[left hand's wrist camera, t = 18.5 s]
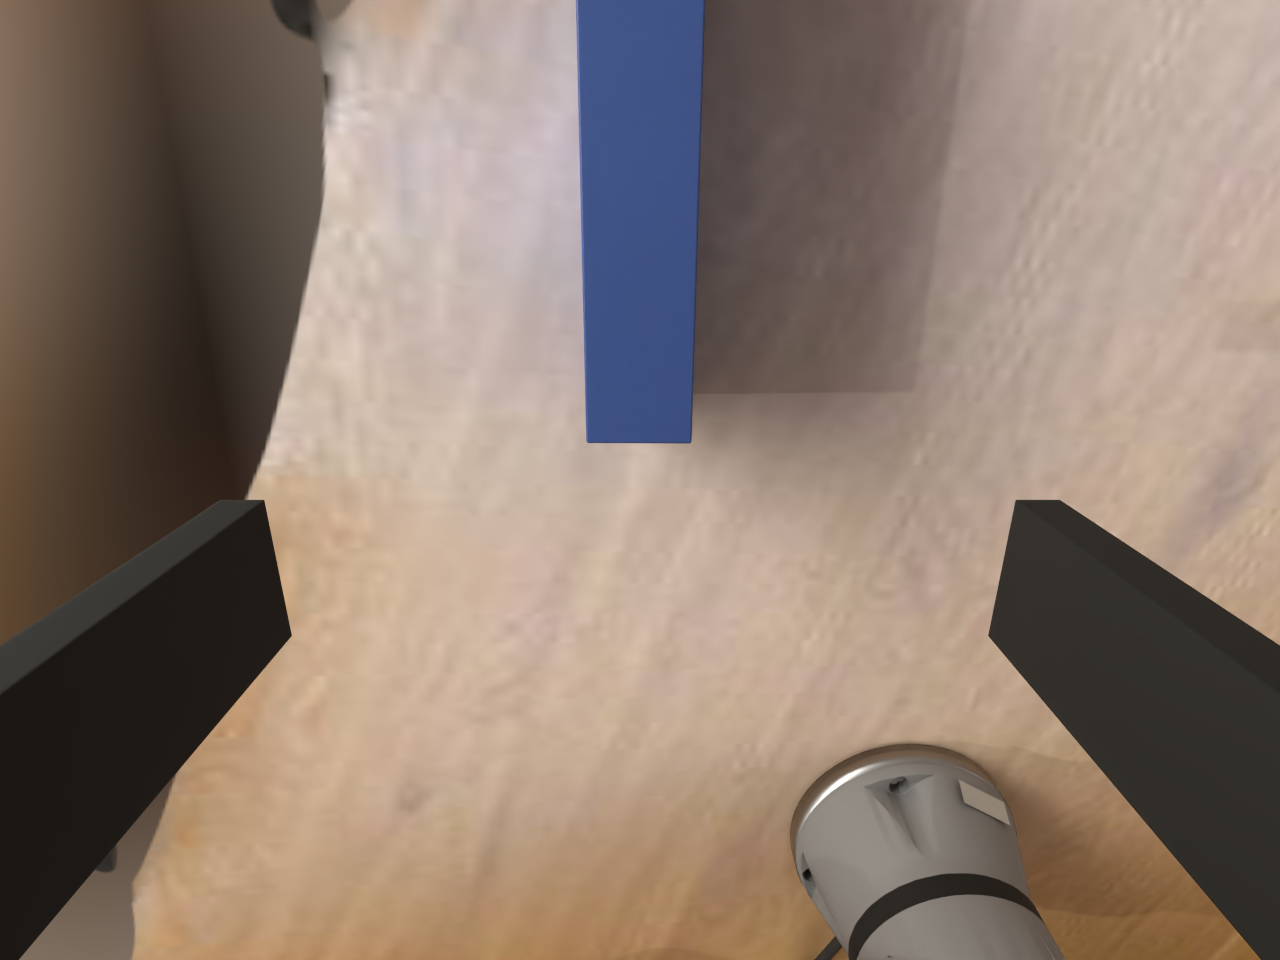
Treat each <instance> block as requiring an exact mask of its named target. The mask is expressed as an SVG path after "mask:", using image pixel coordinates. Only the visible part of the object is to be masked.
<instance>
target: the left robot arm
mask: <svg viewBox="0 0 1280 960" xmlns="http://www.w3.org/2000/svg"><path fill="white" fill-rule="evenodd" d="M291 636H292V635H291V630H290V625H289V620H288V615H287V610H286V605H285V600H284V595H283V591H282V586H281V581H280V576H279V571H278V566H277V561H276V556H275V551H274V546H273V541H272V536H271V531H270V527H269V522H268V517H267V512H266V507H265V502H264V500H220V501H218V502H217V503H215V504H214V505H212V506H211V507H209V508H207V509H206V510H204V511H203V512H202V513H200V514H198V515H197V516H195V517H194V518H192V519H191V520H189V521H188V522H186V523H185V524H183V525H182V526H180V527H179V528H177V529H176V530H174V531H173V532H171V533H170V534H168V535H167V536H165V537H164V538H162V539H161V540H159V541H158V542H156V543H155V544H153V545H152V546H150V547H149V548H147V549H146V550H144V551H142V552H141V553H140V554H138V555H136V556H135V557H133V558H132V559H130V560H129V561H127V562H126V563H124V564H123V565H121V566H120V567H118V568H117V569H115V570H114V571H112V572H111V573H109V574H108V575H106V576H105V577H103V578H102V579H100V580H99V581H97V582H96V583H94V584H93V585H91V586H90V587H88V588H87V589H85V590H84V591H82V592H80V593H79V594H77V595H76V596H74V597H73V598H71V599H70V600H68V601H67V602H65V603H64V604H62V605H61V606H59V607H58V608H56V609H55V610H53V611H52V612H50V613H49V614H47V615H46V616H44V617H43V618H41V619H40V620H38V621H37V622H35V623H34V624H32V625H31V626H29V627H28V628H26V629H25V630H23V631H22V632H20V633H19V634H17V635H15V636H14V637H12V638H11V639H9V640H8V641H6V642H5V643H3V644H2V645H0V960H19V959H20V958H21V956H22V955H23V954H24V953H25V952H26V950H27V949H28V948H29V947H30V946H31V945H32V943H33V942H34V941H35V940H36V939H37V937H38V936H39V935H40V934H41V933H42V931H43V930H44V929H45V928H46V927H47V926H48V924H49V923H50V922H51V921H52V920H53V918H54V917H55V916H56V915H57V914H58V912H59V911H60V910H61V909H62V908H63V907H64V905H65V904H66V903H67V902H68V901H69V899H70V898H71V897H72V896H73V895H74V894H75V892H76V891H77V890H78V889H79V888H80V886H81V885H82V884H83V883H84V882H85V880H86V879H87V878H88V877H89V876H90V875H91V873H92V872H93V871H94V870H95V869H96V867H97V866H98V865H99V864H100V863H101V861H102V860H103V859H104V858H105V857H106V856H107V854H108V853H109V852H110V851H111V850H112V848H113V847H114V846H115V845H116V844H117V842H118V841H119V840H120V839H121V838H122V837H123V835H124V834H125V833H126V832H127V831H128V829H129V828H130V827H131V826H132V825H133V823H134V822H135V821H136V820H137V819H138V818H139V816H140V815H141V814H142V813H143V812H144V810H145V809H146V808H147V807H148V806H149V805H150V803H151V802H152V801H153V800H154V799H155V797H156V796H157V795H158V794H159V793H160V791H161V790H162V789H163V788H164V787H165V785H166V784H167V783H168V782H169V781H170V780H171V778H172V777H173V776H174V775H175V774H176V772H177V771H178V770H179V769H180V768H181V767H182V765H183V764H184V763H185V762H186V761H187V759H188V758H189V757H190V756H191V755H192V753H193V752H194V751H195V750H196V749H197V748H198V746H199V745H200V744H201V743H202V742H203V740H204V739H205V738H206V737H207V736H208V735H209V733H210V732H211V731H212V730H213V729H214V727H215V726H216V725H217V724H218V723H219V721H220V720H221V719H222V718H223V717H224V716H225V714H226V713H227V712H228V711H229V710H230V708H231V707H232V706H233V705H234V704H235V702H236V701H237V700H238V699H239V698H240V697H241V695H242V694H243V693H244V692H245V691H246V689H247V688H248V687H249V686H250V685H251V683H252V682H253V681H254V680H255V679H256V678H257V676H258V675H259V674H260V673H261V672H262V670H263V669H264V668H265V667H266V666H267V664H268V663H269V662H270V661H271V660H272V659H273V657H274V656H275V655H276V654H277V653H278V651H279V650H280V649H281V648H282V647H283V645H284V644H285V643H286V642H287V641H288V640H289V638H290V637H291ZM988 636H989V637H990V638H991V640H992V641H993V642H994V643H995V644H996V646H997V647H998V648H999V649H1000V650H1001V651H1002V653H1003V654H1004V655H1005V656H1006V657H1007V659H1008V660H1009V661H1010V662H1011V663H1012V664H1013V666H1014V667H1015V668H1016V669H1017V670H1018V672H1019V673H1020V674H1021V675H1022V676H1023V678H1024V679H1025V680H1026V681H1027V682H1028V683H1029V685H1030V686H1031V687H1032V688H1033V689H1034V691H1035V692H1036V693H1037V694H1038V695H1039V697H1040V698H1041V699H1042V700H1043V701H1044V702H1045V704H1046V705H1047V706H1048V707H1049V708H1050V710H1051V711H1052V712H1053V713H1054V714H1055V716H1056V717H1057V718H1058V719H1059V720H1060V721H1061V723H1062V724H1063V725H1064V726H1065V727H1066V729H1067V730H1068V731H1069V732H1070V733H1071V735H1072V736H1073V737H1074V738H1075V739H1076V740H1077V742H1078V743H1079V744H1080V745H1081V746H1082V748H1083V749H1084V750H1085V751H1086V752H1087V753H1088V755H1089V756H1090V757H1091V758H1092V759H1093V761H1094V762H1095V763H1096V764H1097V765H1098V767H1099V768H1100V769H1101V770H1102V771H1103V772H1104V774H1105V775H1106V776H1107V777H1108V778H1109V780H1110V781H1111V782H1112V783H1113V784H1114V786H1115V787H1116V788H1117V789H1118V790H1119V791H1120V793H1121V794H1122V795H1123V796H1124V797H1125V799H1126V800H1127V801H1128V802H1129V803H1130V805H1131V806H1132V807H1133V808H1134V809H1135V810H1136V812H1137V813H1138V814H1139V815H1140V816H1141V818H1142V819H1143V820H1144V821H1145V822H1146V824H1147V825H1148V826H1149V827H1150V828H1151V829H1152V831H1153V832H1154V833H1155V834H1156V835H1157V837H1158V838H1159V839H1160V840H1161V841H1162V842H1163V844H1164V845H1165V846H1166V847H1167V848H1168V850H1169V851H1170V852H1171V853H1172V854H1173V856H1174V857H1175V858H1176V859H1177V860H1178V861H1179V863H1180V864H1181V865H1182V866H1183V867H1184V869H1185V870H1186V871H1187V872H1188V873H1189V875H1190V876H1191V877H1192V878H1193V879H1194V880H1195V882H1196V883H1197V884H1198V885H1199V886H1200V888H1201V889H1202V890H1203V891H1204V892H1205V894H1206V895H1207V896H1208V897H1209V898H1210V899H1211V901H1212V902H1213V903H1214V904H1215V905H1216V907H1217V908H1218V909H1219V910H1220V911H1221V913H1222V914H1223V915H1224V916H1225V917H1226V918H1227V920H1228V921H1229V922H1230V923H1231V924H1232V926H1233V927H1234V928H1235V929H1236V930H1237V931H1238V933H1239V934H1240V935H1241V936H1242V937H1243V939H1244V940H1245V941H1246V942H1247V943H1248V945H1249V946H1250V947H1251V948H1252V949H1253V950H1254V952H1255V953H1256V954H1257V955H1258V956H1259V958H1260V959H1261V960H1280V645H1278V644H1277V643H1275V642H1274V641H1272V640H1271V639H1269V638H1268V637H1266V636H1265V635H1263V634H1262V633H1260V632H1258V631H1257V630H1255V629H1254V628H1252V627H1251V626H1249V625H1248V624H1246V623H1245V622H1243V621H1242V620H1240V619H1239V618H1237V617H1236V616H1234V615H1233V614H1231V613H1230V612H1228V611H1227V610H1225V609H1224V608H1222V607H1221V606H1219V605H1218V604H1216V603H1215V602H1213V601H1212V600H1210V599H1209V598H1207V597H1206V596H1204V595H1203V594H1201V593H1200V592H1198V591H1196V590H1195V589H1193V588H1192V587H1190V586H1189V585H1187V584H1186V583H1184V582H1183V581H1181V580H1180V579H1178V578H1177V577H1175V576H1174V575H1172V574H1171V573H1169V572H1168V571H1166V570H1165V569H1163V568H1162V567H1160V566H1159V565H1157V564H1156V563H1154V562H1153V561H1151V560H1150V559H1148V558H1147V557H1145V556H1144V555H1142V554H1141V553H1139V552H1138V551H1136V550H1134V549H1133V548H1131V547H1130V546H1128V545H1127V544H1125V543H1124V542H1122V541H1121V540H1119V539H1118V538H1116V537H1115V536H1113V535H1112V534H1110V533H1109V532H1107V531H1106V530H1104V529H1103V528H1101V527H1100V526H1098V525H1097V524H1095V523H1094V522H1092V521H1091V520H1089V519H1088V518H1086V517H1085V516H1083V515H1082V514H1080V513H1079V512H1077V511H1076V510H1074V509H1073V508H1071V507H1069V506H1068V505H1066V504H1065V503H1063V502H1062V501H1060V500H1016V502H1015V507H1014V512H1013V517H1012V522H1011V527H1010V531H1009V536H1008V541H1007V546H1006V551H1005V556H1004V561H1003V566H1002V571H1001V576H1000V581H999V586H998V590H997V595H996V600H995V605H994V610H993V615H992V620H991V625H990V630H989V635H988ZM790 843H791V849H792V853H793V857H794V861H795V865H796V869H797V873H798V876H799V878H800V881H801V883H802V884H803V886H804V888H805V890H806V891H807V893H808V895H809V896H810V898H811V899H812V901H813V902H814V904H815V905H816V907H817V908H818V910H819V912H820V913H821V915H822V916H823V918H824V919H825V921H826V922H827V924H828V925H829V927H830V928H831V930H832V931H833V933H834V935H835V937H834V938H833V940H832V941H831V942H830V943H829V944H828V945H827V946H826V948H825V949H824V950H823V951H822V952H821V953H820V954H819V955H818V957H817V958H816V959H815V960H831V959H832V958H833V956H834V955H835V954H836V953H837V952H838V951H839V950H840V949H841V948H842V947H843V948H844V950H845V951H846V953H847V955H848V958H849V960H1066V959H1065V957H1064V956H1063V954H1062V952H1061V951H1060V949H1059V947H1058V945H1057V944H1056V942H1055V940H1054V939H1053V937H1052V935H1051V934H1050V932H1049V930H1048V929H1047V927H1046V925H1045V923H1044V922H1043V920H1042V918H1041V917H1040V915H1039V913H1038V911H1037V910H1036V908H1035V906H1034V904H1033V902H1032V900H1031V898H1030V894H1029V889H1028V885H1027V880H1026V875H1025V870H1024V866H1023V861H1022V857H1021V853H1020V849H1019V845H1018V841H1017V832H1016V827H1015V824H1014V820H1013V816H1012V813H1011V811H1010V808H1009V806H1008V804H1007V803H1006V801H1005V799H1004V798H1003V796H1002V795H1001V793H1000V791H999V790H998V788H997V787H996V785H995V784H994V782H993V781H992V779H991V778H990V777H989V775H988V774H987V773H986V772H985V771H984V770H983V769H982V768H980V767H979V766H978V765H977V764H975V763H974V762H972V761H971V760H969V759H968V758H966V757H964V756H962V755H960V754H957V753H955V752H952V751H950V750H946V749H942V748H939V747H933V746H927V745H909V744H907V745H894V746H886V747H881V748H877V749H873V750H869V751H866V752H863V753H860V754H858V755H855V756H853V757H851V758H849V759H846V760H844V761H843V762H841V763H839V764H837V765H836V766H834V767H833V768H831V769H830V770H828V771H827V772H825V773H824V774H823V775H822V776H821V777H819V778H818V779H817V780H816V781H815V782H814V783H813V784H812V785H811V786H810V788H809V789H808V790H807V791H806V792H805V794H804V795H803V797H802V798H801V800H800V802H799V804H798V805H797V807H796V810H795V812H794V815H793V818H792V822H791V828H790Z"/></svg>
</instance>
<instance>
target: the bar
mask: <svg viewBox="0 0 1280 960" xmlns="http://www.w3.org/2000/svg"><path fill="white" fill-rule="evenodd" d="M576 15H577V58H578V100H579V143H580V185H581V227H582V270H583V312H584V355H585V397H586V439H587V442H588V443H691V438H692V406H693V373H694V341H695V309H696V277H697V245H698V213H699V181H700V149H701V117H702V85H703V52H704V20H705V0H576Z"/></svg>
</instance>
